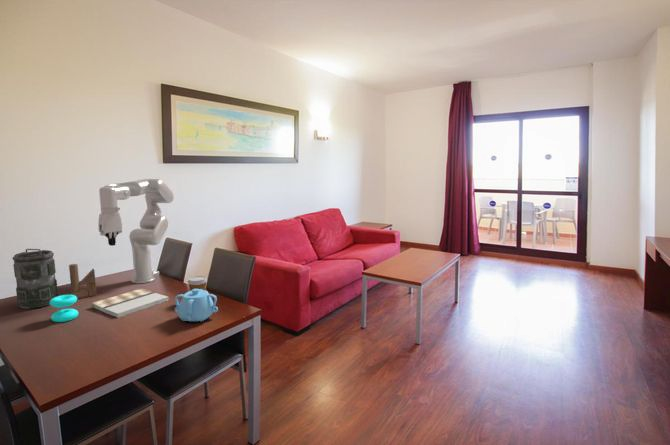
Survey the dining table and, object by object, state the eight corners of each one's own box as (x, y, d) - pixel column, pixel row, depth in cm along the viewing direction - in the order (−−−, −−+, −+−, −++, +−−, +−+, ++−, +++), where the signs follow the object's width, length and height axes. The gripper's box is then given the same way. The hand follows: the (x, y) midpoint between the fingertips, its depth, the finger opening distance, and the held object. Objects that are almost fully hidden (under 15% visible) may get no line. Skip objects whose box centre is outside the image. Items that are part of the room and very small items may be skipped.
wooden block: (96, 295, 198) (93, 262, 195) (72, 299, 191) (68, 266, 188) (95, 293, 201) (92, 261, 198) (71, 297, 194) (68, 264, 191)
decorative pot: (172, 316, 172) (170, 288, 170) (206, 308, 182) (205, 281, 180) (185, 328, 160) (183, 298, 157) (220, 318, 170) (219, 290, 168)
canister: (9, 309, 177) (2, 252, 173) (35, 297, 193) (29, 245, 189) (42, 309, 177) (36, 252, 173) (66, 298, 193) (60, 245, 189)
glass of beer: (197, 296, 198) (196, 274, 196) (212, 298, 195) (211, 276, 193) (184, 302, 189) (183, 279, 187) (199, 305, 186) (198, 282, 184)
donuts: (82, 294, 171) (63, 302, 161) (84, 315, 172) (65, 324, 162) (63, 293, 172) (43, 300, 162) (65, 313, 174) (45, 322, 164)
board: (154, 296, 198) (154, 291, 197) (168, 300, 192) (168, 295, 191) (103, 312, 176) (103, 307, 175) (118, 317, 170) (117, 312, 169)
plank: (142, 291, 203) (142, 288, 203) (153, 295, 198) (153, 292, 198) (91, 306, 181) (91, 302, 180) (103, 311, 176) (102, 307, 175)
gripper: (119, 208, 201) (122, 241, 204) (90, 211, 189) (93, 246, 191) (127, 209, 198) (130, 243, 201) (98, 212, 185) (101, 248, 188)
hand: (112, 245), depth 196 cm, fingers closed
